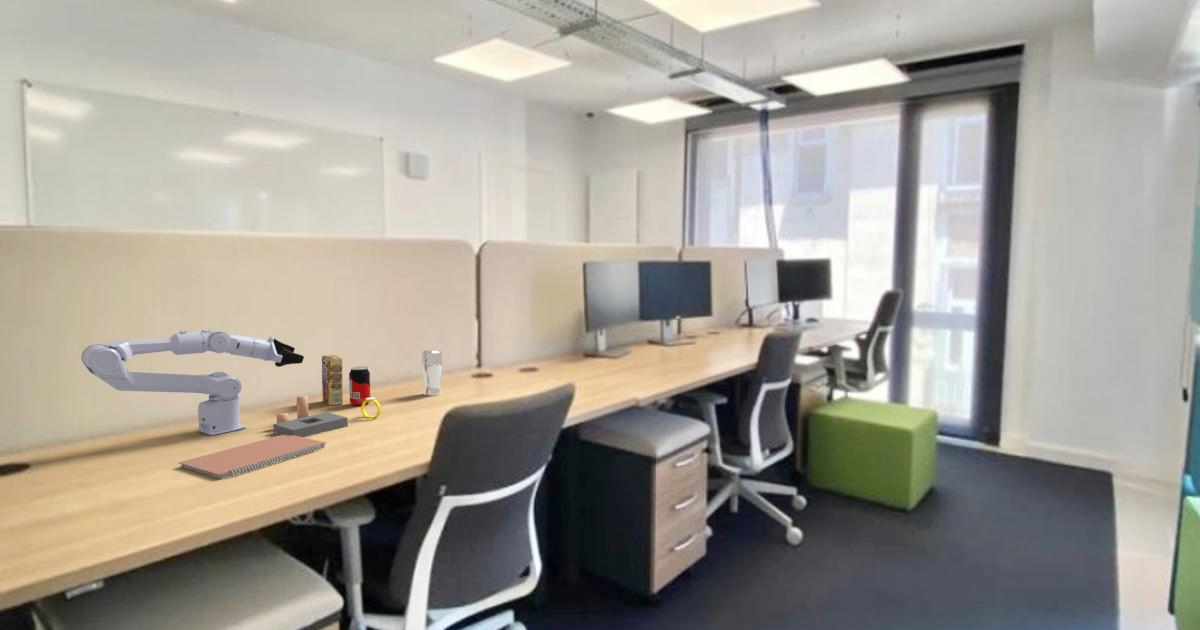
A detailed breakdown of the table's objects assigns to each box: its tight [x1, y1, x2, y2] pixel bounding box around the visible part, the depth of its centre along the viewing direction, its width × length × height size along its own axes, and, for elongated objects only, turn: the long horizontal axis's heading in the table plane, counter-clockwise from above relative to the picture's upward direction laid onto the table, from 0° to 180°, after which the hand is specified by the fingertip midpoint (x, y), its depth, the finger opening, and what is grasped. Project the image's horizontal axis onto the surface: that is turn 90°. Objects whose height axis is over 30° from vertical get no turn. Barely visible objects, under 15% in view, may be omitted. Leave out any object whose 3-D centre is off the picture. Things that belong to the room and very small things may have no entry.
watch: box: [360, 396, 382, 419], centre depth 191 cm, size 6×3×6 cm, turn 76°
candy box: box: [321, 354, 344, 406], centre depth 209 cm, size 9×4×15 cm, turn 39°
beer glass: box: [421, 349, 443, 397], centre depth 222 cm, size 7×7×15 cm
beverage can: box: [348, 366, 371, 406], centre depth 207 cm, size 6×6×12 cm
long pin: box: [296, 395, 310, 419], centre depth 187 cm, size 3×3×7 cm
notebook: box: [178, 434, 327, 480], centre depth 154 cm, size 27×17×2 cm, turn 151°
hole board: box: [272, 411, 349, 438], centre depth 178 cm, size 16×10×2 cm, turn 145°
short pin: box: [276, 412, 290, 423], centre depth 178 cm, size 3×3×4 cm
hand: (297, 355), depth 190 cm, fingers open, 7 cm apart
